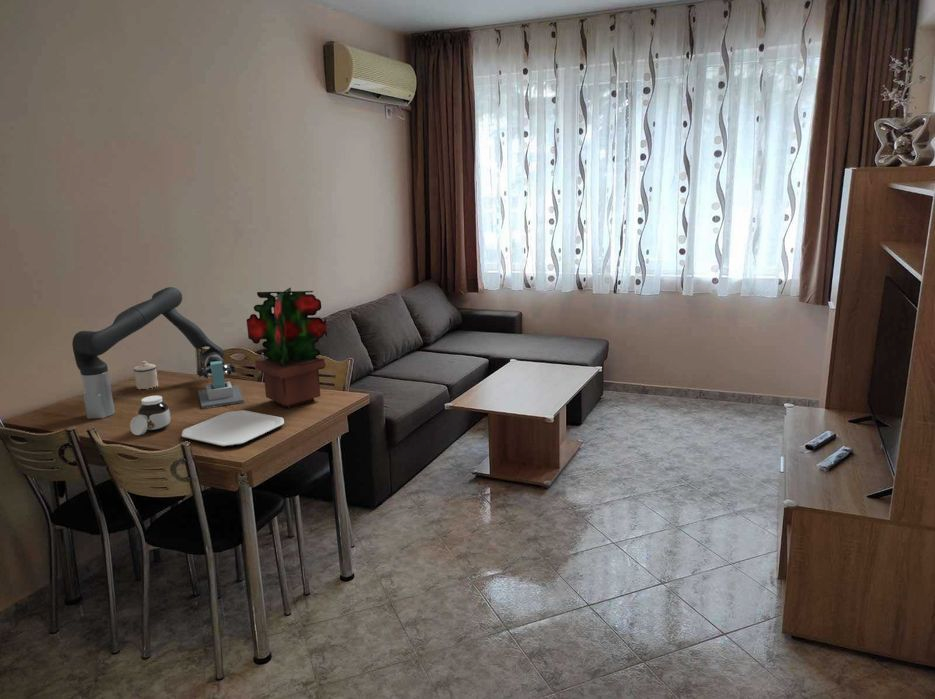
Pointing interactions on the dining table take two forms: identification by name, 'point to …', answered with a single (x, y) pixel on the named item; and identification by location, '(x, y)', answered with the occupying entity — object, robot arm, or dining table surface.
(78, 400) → the dining table surface
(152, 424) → the spread jar
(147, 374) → the teacup with lid
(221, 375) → the teal peg
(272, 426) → the plate
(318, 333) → the potted plant
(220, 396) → the socket holder
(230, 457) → the dining table surface
